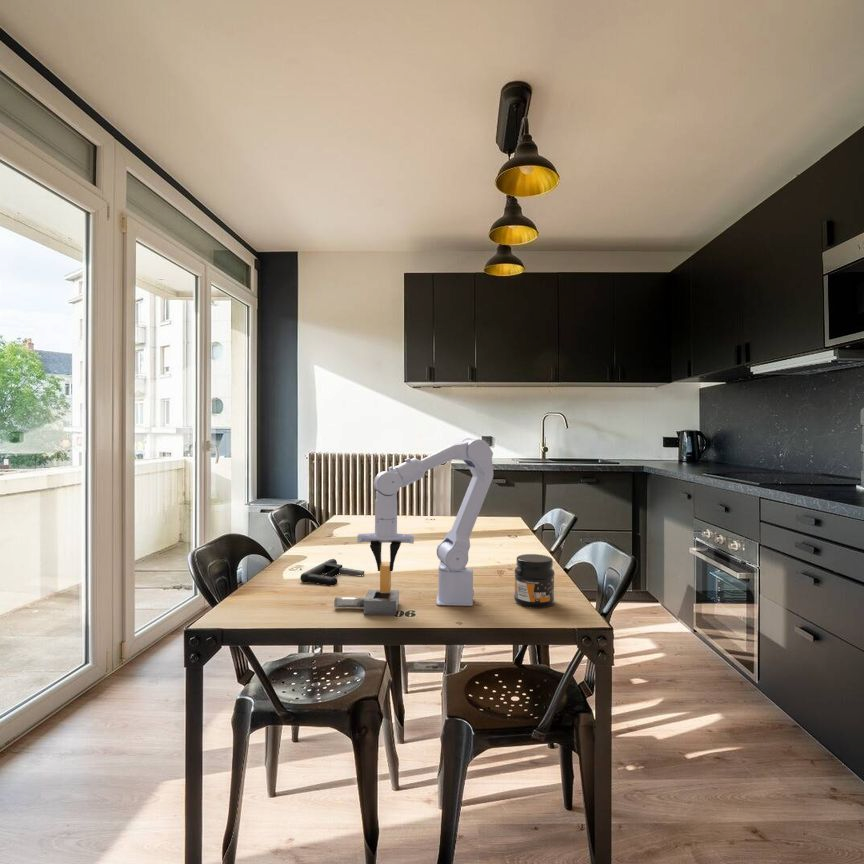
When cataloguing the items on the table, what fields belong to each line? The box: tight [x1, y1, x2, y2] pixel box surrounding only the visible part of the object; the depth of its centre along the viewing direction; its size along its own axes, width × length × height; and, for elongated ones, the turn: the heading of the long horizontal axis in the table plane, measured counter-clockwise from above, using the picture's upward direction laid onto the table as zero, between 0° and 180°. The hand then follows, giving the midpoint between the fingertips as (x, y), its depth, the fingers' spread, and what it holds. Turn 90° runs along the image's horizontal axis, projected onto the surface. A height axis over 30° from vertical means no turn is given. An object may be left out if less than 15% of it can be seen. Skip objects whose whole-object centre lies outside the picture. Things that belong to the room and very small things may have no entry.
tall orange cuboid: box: [379, 561, 392, 593], centre depth 144 cm, size 2×4×7 cm, turn 178°
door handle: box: [299, 558, 365, 586], centre depth 172 cm, size 3×20×16 cm
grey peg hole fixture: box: [333, 589, 400, 616], centre depth 142 cm, size 16×9×4 cm, turn 89°
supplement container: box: [513, 553, 556, 609], centre depth 148 cm, size 10×10×12 cm
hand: (385, 570), depth 144 cm, fingers closed on tall orange cuboid, 2 cm apart
